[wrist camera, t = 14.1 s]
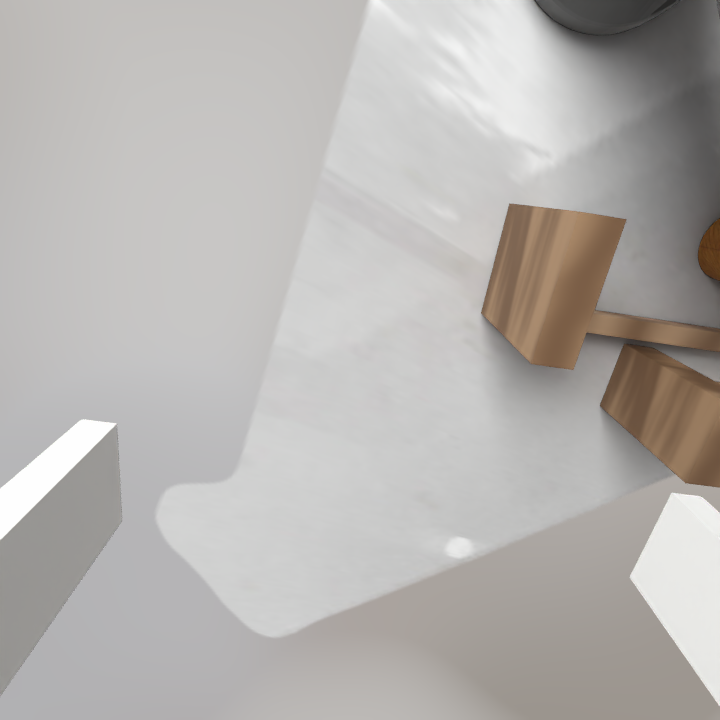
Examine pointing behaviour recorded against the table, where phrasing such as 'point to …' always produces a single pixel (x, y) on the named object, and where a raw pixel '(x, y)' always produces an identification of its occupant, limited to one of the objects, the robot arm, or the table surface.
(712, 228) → the disposable coffee cup
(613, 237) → the bent wooden rail
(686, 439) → the wooden mallet
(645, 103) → the table surface
